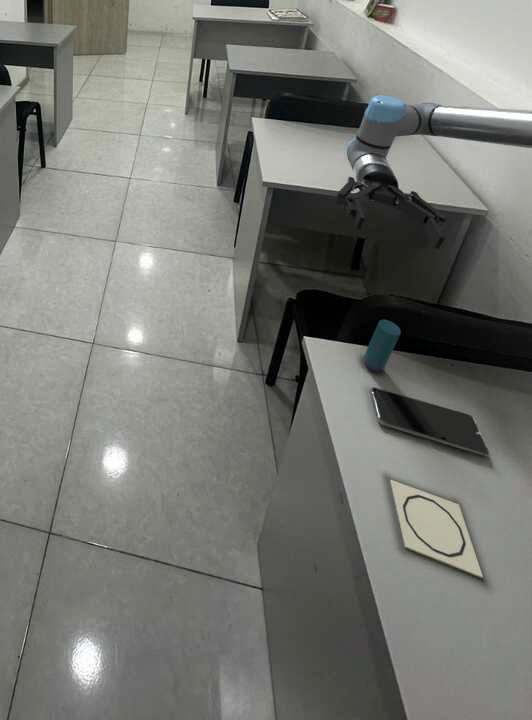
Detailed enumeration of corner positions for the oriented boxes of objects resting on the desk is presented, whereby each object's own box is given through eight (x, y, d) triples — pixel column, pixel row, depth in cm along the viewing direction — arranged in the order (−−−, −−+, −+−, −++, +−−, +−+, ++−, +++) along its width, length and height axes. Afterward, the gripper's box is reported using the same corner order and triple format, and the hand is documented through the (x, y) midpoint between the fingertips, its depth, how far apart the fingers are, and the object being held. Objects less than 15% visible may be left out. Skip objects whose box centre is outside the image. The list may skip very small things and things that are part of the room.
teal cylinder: (380, 361, 93) (398, 323, 89) (384, 376, 90) (403, 337, 86) (360, 354, 94) (376, 317, 90) (363, 369, 91) (380, 331, 87)
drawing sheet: (458, 505, 71) (459, 504, 70) (482, 578, 63) (483, 577, 63) (389, 480, 73) (390, 479, 73) (404, 547, 65) (405, 546, 65)
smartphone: (370, 385, 87) (472, 414, 83) (368, 389, 87) (470, 418, 83) (380, 422, 81) (491, 456, 76) (378, 426, 81) (489, 460, 77)
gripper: (429, 205, 108) (465, 267, 90) (312, 178, 114) (323, 230, 96) (443, 177, 105) (483, 235, 86) (321, 150, 111) (335, 200, 92)
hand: (399, 233), depth 91 cm, fingers open, 13 cm apart
